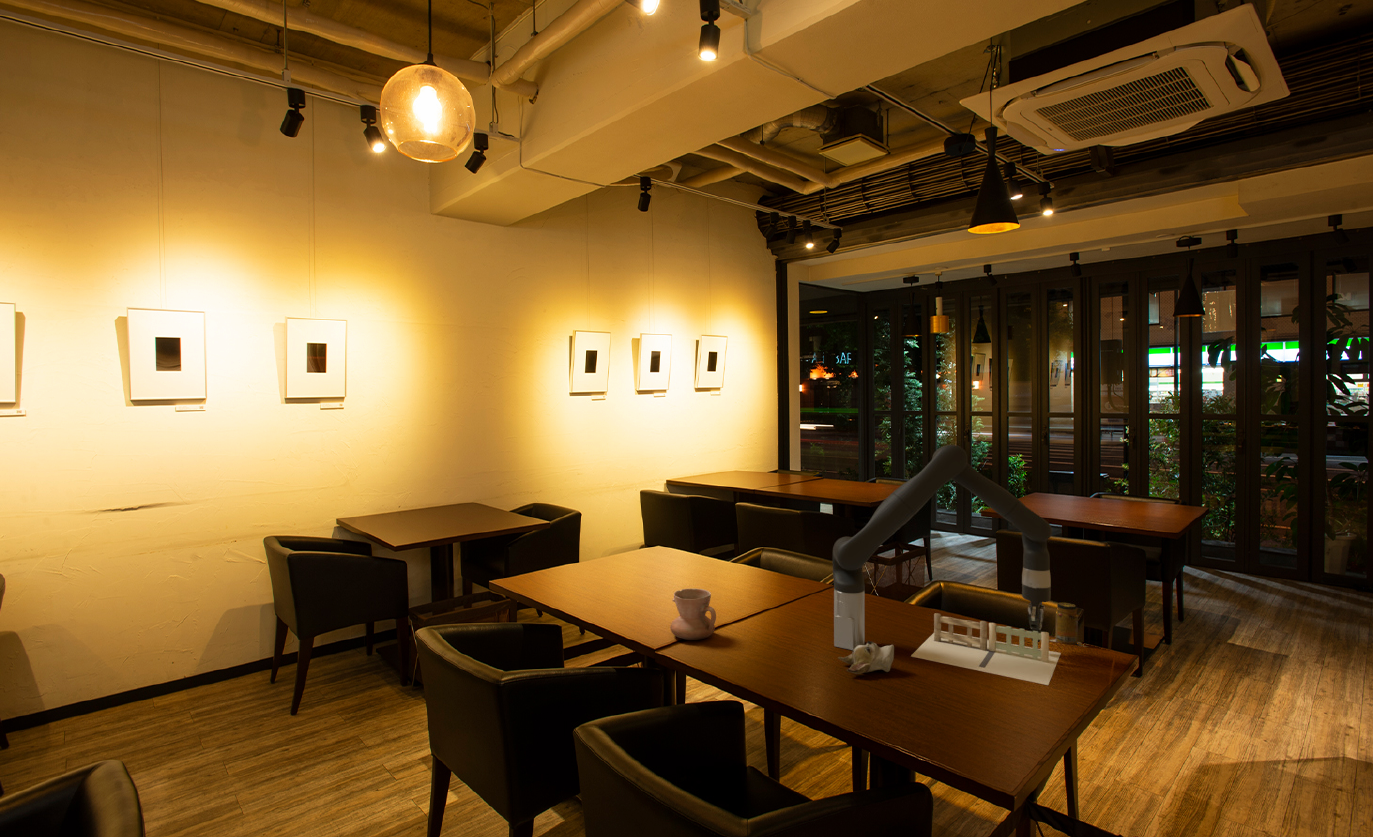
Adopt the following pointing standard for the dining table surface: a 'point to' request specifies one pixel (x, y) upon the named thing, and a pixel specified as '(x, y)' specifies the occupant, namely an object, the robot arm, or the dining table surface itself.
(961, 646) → the card
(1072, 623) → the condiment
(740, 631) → the dining table surface
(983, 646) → the fence fixed
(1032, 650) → the fence gate
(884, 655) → the ceramic sculpture
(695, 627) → the ceramic jug
